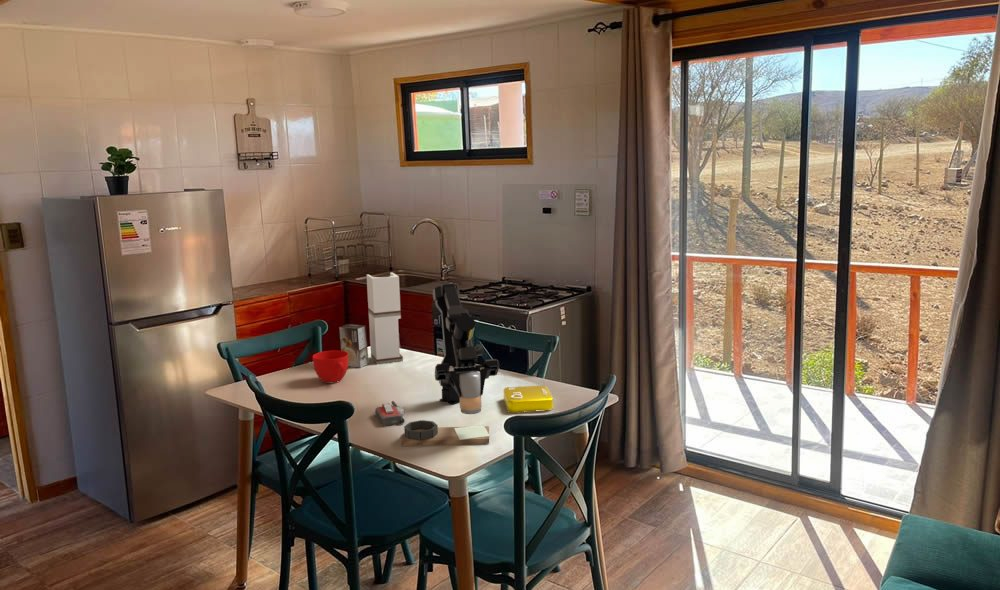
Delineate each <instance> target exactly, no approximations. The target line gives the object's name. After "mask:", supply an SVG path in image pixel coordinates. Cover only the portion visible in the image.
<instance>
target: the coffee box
mask: <svg viewBox="0 0 1000 590" xmlns="http://www.w3.org/2000/svg"><path fill="white" fill-rule="evenodd" d="M338 328H339V339H340V340H339V341H340V351H345V352H347V353H348V367H349V366H350V367H352V368H363V367H366V366H368V365H369V364H370V363H369V352H368V351H369V349H368V335H367V325H365V324H364V325H363V324H354V323H346V324H343V325H342V326H339V327H338Z"/></svg>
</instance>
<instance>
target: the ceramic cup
mask: <svg viewBox="0 0 1000 590" xmlns="http://www.w3.org/2000/svg"><path fill="white" fill-rule="evenodd" d="M312 362H313V363H312V364H313V369H314V371H315V373H316V376H318V378H319V379H320V380H321V381H322V382H323V381H324V382H336V383H338V382H337V381H339V382H341V381H342V379H343V378H344V376H345V375H346V373H347V371H348V367H349V366H348V353H347V352H345V351H341V350H337V349H336V350H334V349H333V350H323V351H319V352H317V353H314V354H313V355H312ZM340 380H341V381H340ZM324 382H323V383H324Z"/></svg>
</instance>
